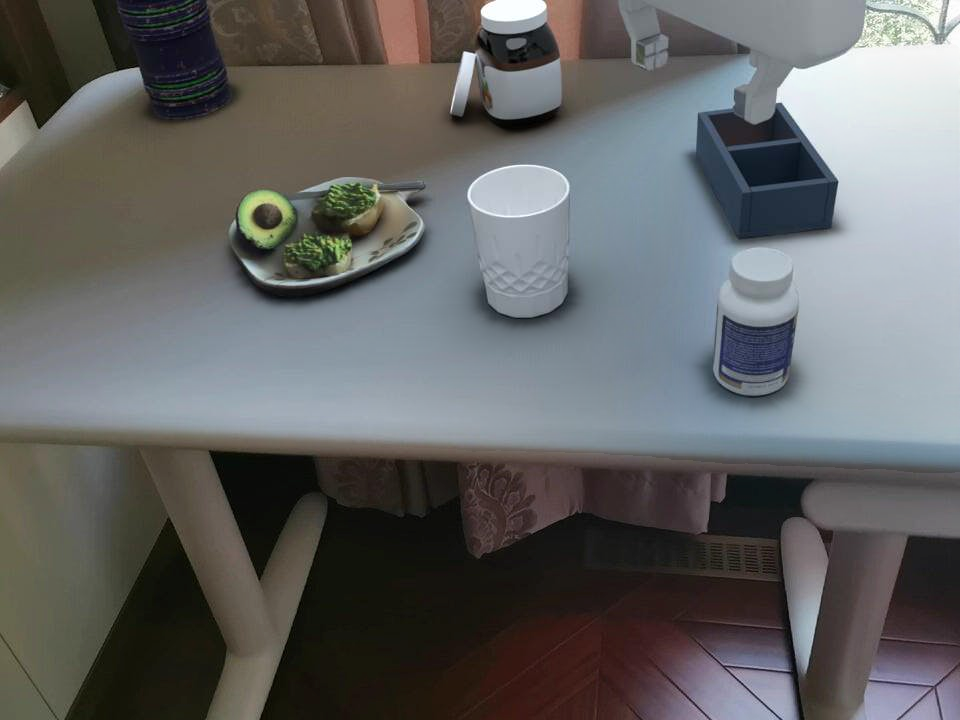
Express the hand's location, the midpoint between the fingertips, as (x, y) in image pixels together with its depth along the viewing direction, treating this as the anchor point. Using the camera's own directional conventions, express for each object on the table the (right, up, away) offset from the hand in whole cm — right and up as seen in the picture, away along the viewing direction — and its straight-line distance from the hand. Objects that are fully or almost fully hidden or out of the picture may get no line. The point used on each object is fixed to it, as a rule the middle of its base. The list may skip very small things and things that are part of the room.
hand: (698, 90), depth 57 cm
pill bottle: (+7, -17, +13) cm, 23 cm away
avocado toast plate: (-28, -5, +33) cm, 43 cm away
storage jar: (-48, +16, +61) cm, 79 cm away
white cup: (-9, -11, +23) cm, 27 cm away
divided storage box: (+13, 0, +32) cm, 35 cm away
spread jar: (-10, +11, +50) cm, 52 cm away
